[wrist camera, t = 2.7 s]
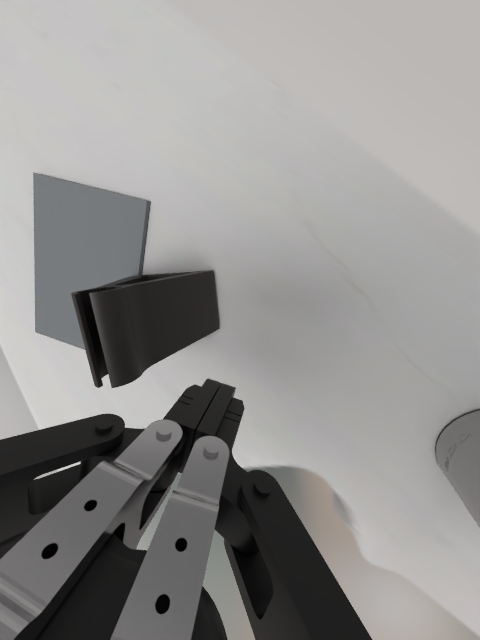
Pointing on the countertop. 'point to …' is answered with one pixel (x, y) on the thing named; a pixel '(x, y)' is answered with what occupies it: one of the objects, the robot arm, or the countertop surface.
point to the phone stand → (143, 321)
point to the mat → (81, 248)
